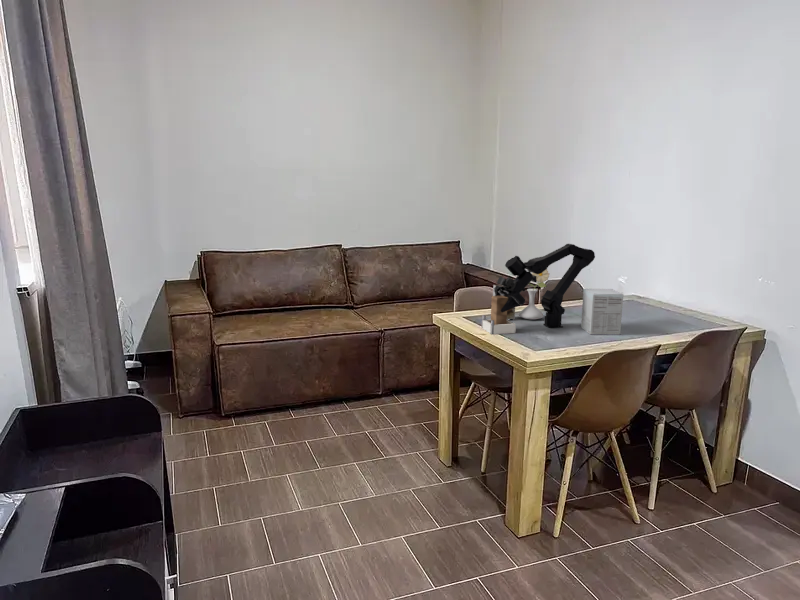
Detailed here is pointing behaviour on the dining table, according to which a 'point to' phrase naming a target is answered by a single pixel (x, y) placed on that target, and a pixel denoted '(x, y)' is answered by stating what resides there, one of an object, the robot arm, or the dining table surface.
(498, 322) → the brown block
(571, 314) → the dining table surface
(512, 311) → the coffee box
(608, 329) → the supplement box
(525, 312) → the flower in vase
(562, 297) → the robot arm
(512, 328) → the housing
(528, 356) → the dining table surface
